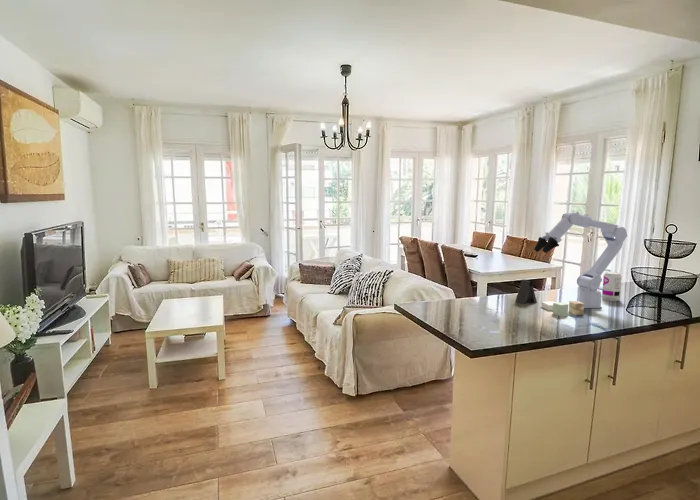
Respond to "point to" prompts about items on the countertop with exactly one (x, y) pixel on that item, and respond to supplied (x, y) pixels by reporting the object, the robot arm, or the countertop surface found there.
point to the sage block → (560, 309)
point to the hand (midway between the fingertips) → (539, 251)
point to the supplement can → (611, 286)
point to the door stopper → (526, 293)
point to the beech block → (576, 307)
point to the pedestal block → (548, 305)
